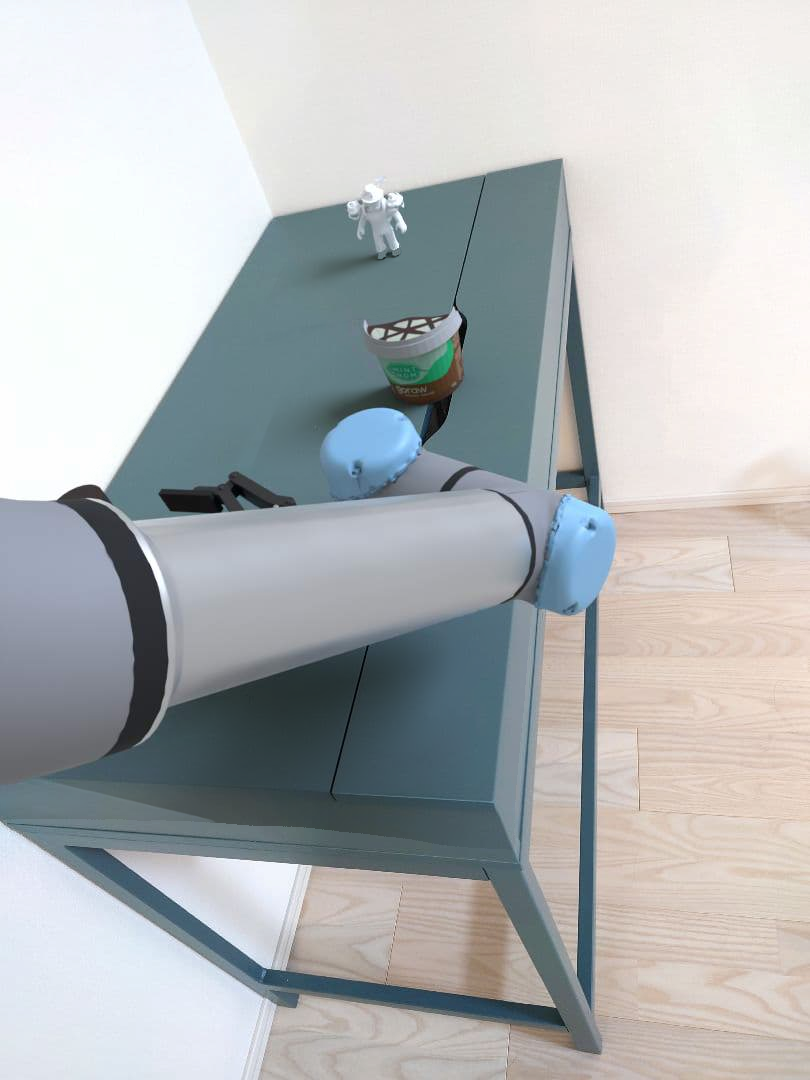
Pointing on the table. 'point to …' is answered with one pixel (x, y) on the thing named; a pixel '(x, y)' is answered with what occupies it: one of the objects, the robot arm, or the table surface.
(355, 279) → the table surface
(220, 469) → the table surface
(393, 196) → the blocky character figurine
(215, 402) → the table surface
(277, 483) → the table surface
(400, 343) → the food container
